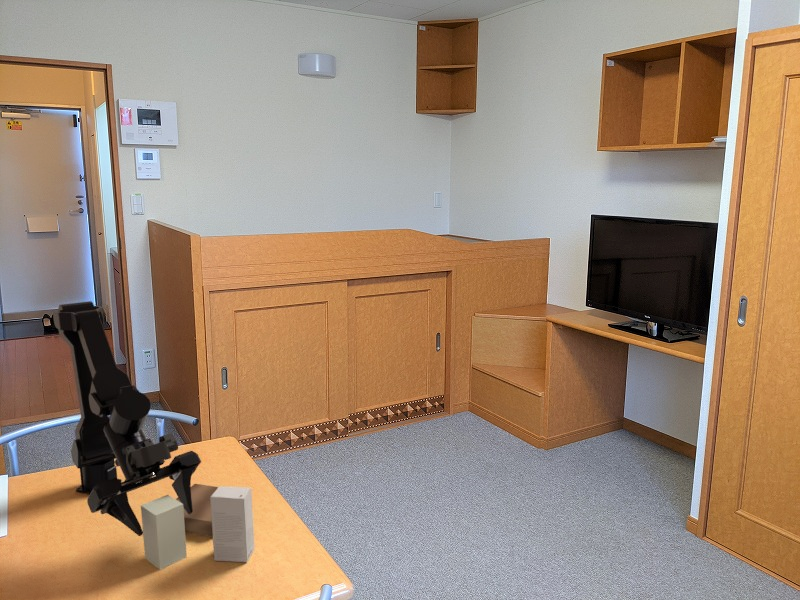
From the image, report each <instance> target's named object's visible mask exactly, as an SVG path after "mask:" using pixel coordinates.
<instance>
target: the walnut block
mask: <svg viewBox="0 0 800 600" xmlns="http://www.w3.org/2000/svg"><path fill="white" fill-rule="evenodd" d="M218 487H219V486H213V485H206V484H200V483H199V484H198V483H194V484H193V485H192V486H191V499H192V509H193V512H192V513H191V514H188V513H187V511H186V510H185V509H184V507H183V509H184V523H185V533H188V534H194V535H199V536H205V537H211V538H213V531H212V516H211V503H210V497H211V496H212V494H213V493H214V492H215V491H216V490H217V488H218ZM175 499H176V500H177V501H179V502H181V501H180V500H179V498H178V497H177V498H175Z"/></svg>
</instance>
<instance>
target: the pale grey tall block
mask: <svg viewBox="0 0 800 600" xmlns="http://www.w3.org/2000/svg"><path fill="white" fill-rule="evenodd" d="M176 499H177V498H174V497H172V496H171V495H169V494H166V495H164V496H161V497H158V498H156V499H154V500H150V501H148V502H146V503H142V504H141V505H140V511H141V512H140V513H141V523H142V524H141V525H142V526H141V528H142V531H143V534H142V536H143V549H144V559H145V560H146V561H148V562H149V563H150V564H152V565H153V566H155V567H156V568H157V569H158V570H159V571H161V570H162V569H164V568H165V569H166V568H167V567H169V566H171V565H173V564H175V563H177V562H179V561H181V560H183V559H185V558H187V556H188V555H187V542H186V540H187V538H186V532H185V523H184V509H183V504H182V503H181V502H179V501H177V500H176Z"/></svg>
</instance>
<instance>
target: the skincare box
mask: <svg viewBox="0 0 800 600" xmlns="http://www.w3.org/2000/svg"><path fill="white" fill-rule="evenodd" d="M217 487H218V488H217V490H216V491H215V492H214V493H213V494H212V496H211V497H210V503H211V516H212V531H213V537H212V545H213V558H214V561H215V562H216V561H217V562H218V561H219V562H233V563H234V562H236V563H248V561H249V560H250V558H251V556H252V554H253V553H254V551H255V533H254V532H255V531H254V515H253V499H252V498H253V497H252V496H253V495H252V487H251V486H249V487H248V486H246V487H245V486H221V485H219V486H217Z"/></svg>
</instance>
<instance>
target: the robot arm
mask: <svg viewBox="0 0 800 600" xmlns="http://www.w3.org/2000/svg"><path fill="white" fill-rule="evenodd" d="M57 309H58V310H54V311H52V313H53V314H52V316H53V317H52V318H53V323H54V326H55V328H56V329H57V330H58V334H59V336H60V338H61V339H62V340H63V341H64V342H65V344H67V345H68V347H70V348H69V349H70V354H71V361H72V362H71V363H72V367H73V375H74V379H75V387H76V391H77V392H76V393H77V398H78V404H79V406H78V407H79V412H80V418H79V420H78V422H77V424H76V427H75V429H74V435H75V436H74V437H75V439H74V440H73V442H72V446H71V450H70V452H71V460H72V462H73V464H74V465H75V467H76V468H77V470H78V469H79V473H80V483H81V485H80V486H78V487H76V488H75V491H76V493H84V494H89V495H88V497H87V506H88V508H89V510H90V513H92V514H94V513H95V514H96V513H97V512H99V511H100V514H101V515H104V514H105V515H106V514H108V515H109V516H111V517H112V518H114V519H116V520H117V521H119V522H120V523H122V524H123V525H124V526H125V527H127V528H128V529H130V530H131V531H132V532H133V533H134V534H135V535H137V536H138V537H141V536H143V528H142V526H141V524H140V522H139V520H138V518H137V516H136V514H135V512H134V510H133V508H132V506H131V505H130V503H129V497H128V493H129V492H133V491H135V490H137V489H140V488H143V487H145V486H148V485H151V484H153V483H155V482H159V481H161V480H164V479H166V478H169V479H170V480H172V481H173V482H172V484H171V486H172V488H173V489H172V490H174V492H175V495H177V498H179V500H180V501H181V503H182V504H183V507H184V509H185V510H186V511H187V513H188V514H191V513H192V512H193V509H192V499H191V482H192V481H191V479H192V475H193V474H194V473H195V472H196V470H197V468H198V467H199V465H200V464H201V463H202V460H201V458H200V455H199V454H198V453H197V452H195V451H193V450H189V451H187V452H184V453H181V454H178V455H176V456H174V457H173V458H172V455H171V453H172V452H176V451H178V450H179V445H178V442H177V439H176V438H175V436H174V433H172V432H170V433H167V434H165V435H161V436H159V439H158V440H159V442H157V443H154V442H153V440H152V439H151V438H147V437H146V436H145V434H144V432H143V429H142V428H144V426H145V423H146V420H147V418H148V415H149V413H150V410H151V406H152V405H151V400H150V398H148V396H147V395H146V394H144V393H143V392H140V390H139V389H138V388H137V387H136V386H135V385H133V384H132V382H131V380H130V378H129V375H128V373H126V372H125V371H123V370H121V369H120V368H119V367H118V365H117V363H116V360H115V358H114V357H115V356H114V354H113V351H112V349H111V345H110V343H109V339H108V337H107V334H106V330H105V328H104V325H105V319H104V309H103V307H102V306H100V305H94V303H93V301H91V300H90V301H81V302H72V303H63V304H59V305H58V308H57ZM170 459H172V460H171V461H170V463H169V464H168V465H166V466H163V467H160V466H162V465H164V464H165V462H166V461H167V460H170ZM118 467H120V470H121V472H122V474H123V477H124V478H125V479H124V481H123V480H122V479H121V478H118V472H117V471H118V470H117V468H118Z"/></svg>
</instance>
